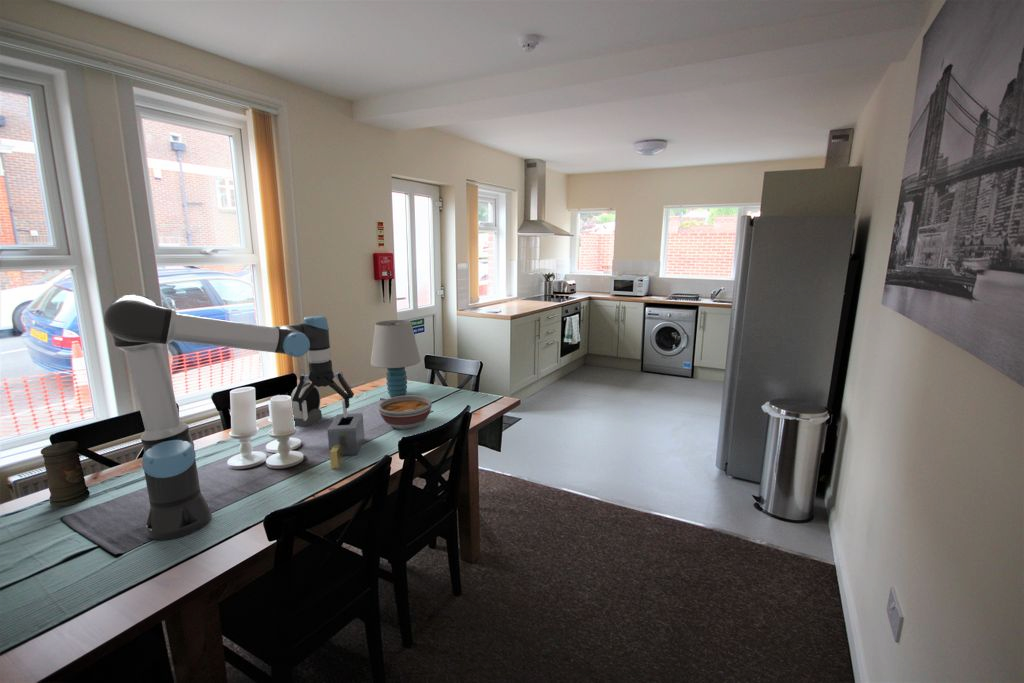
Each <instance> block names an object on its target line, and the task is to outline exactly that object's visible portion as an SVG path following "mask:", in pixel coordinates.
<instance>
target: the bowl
mask: <svg viewBox="0 0 1024 683" xmlns="http://www.w3.org/2000/svg"><path fill="white" fill-rule="evenodd" d="M432 405H433V404H432V400H431V399H430V398H428V397H426V396H422V395H413V394H412V395H411V394H410V395H408V394H406V395H405V396H398V397H393V398H392V397H390V398H386V399H385V400H382V401H381V402H380V403H379V404H378V411H379V414H380V416H381V418H382V419H383V421H384V422H385V423H386V424H387V425H388V426H390V427H392V428H394V429H397V430H408V429H413V428H416V427H419V426H420V425H421V424H423V423H425V421H426V420H427V418H429V416H430V413H431V410H432Z"/></svg>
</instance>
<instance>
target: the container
mask: <svg viewBox="0 0 1024 683" xmlns="http://www.w3.org/2000/svg"><path fill="white" fill-rule="evenodd" d="M78 451H79V443H78V442H77V441H75V440H74V441H73V440H71V441H70V440H69V441H61V442H57V443H53V444H50V445H47V446H45V447H42V448H41V450H40V454H41V455H42V458H43V460H44V463H43V464H44V467H45V473H46V477H47V481H48V491H49V493H50V496H49V498H48V499H49V500H50V501H49V504H50V506H51V507H53V508H59V507H60V508H61V507H66V506H70V505H75V504H77V503H79V502H82V501H83V500H85V499H87V498H88V497H89V496H90V494H91V492H90V491H89V487H88V486H87V485H86V478H85V477H84V472H83V468H82V463H81V458H80V454H79V452H78Z"/></svg>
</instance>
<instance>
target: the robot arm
mask: <svg viewBox="0 0 1024 683" xmlns="http://www.w3.org/2000/svg"><path fill="white" fill-rule="evenodd" d="M103 317H104V318H103V320H104V326H105V327H106V329H107V331H108V332H109V333H110V334H111V335H112V338H113V339H112V340H113V342H114V346H115V348H116V349H119V350H121V351H122V352H124V357H125V359H126V363H127V367H128V370H129V375H130V379H131V382H132V386H133V389H134V392H135V397H136V400H137V403H138V408H139V411H140V415H141V418H142V423H143V426H144V431H143V433H142V434H141V435H140V441H141V444H142V448H143V452H144V453H143V455H142V463H141V467H142V470H143V472H144V477H145V482H146V484H145V485H146V488H147V494H148V500H149V506H150V508H149V510H148V511H149V512H148V515H147V516H148V517H147V521H146V524H145V531H146V536H147V537H148V538H149V539H151V540H154V541H166V540H173V539H178V538H181V537H184V536H187V535H190V534H192V533H194V532H197V531H198V530H200V529H202V528H203V527H204V526H206V525H207V524H208V523H209V522H210V521H211V519H212V515H213V514H212V510H211V507H210V505H209V503H208V502H207V500H206V499H205V497H204V495H203V494H202V491H201V485H200V480H199V473H198V467H197V459H196V458H197V457H196V455H197V454H196V450H195V443H194V440H193V439H192V436H191V432H190V428H189V425H188V423H186V422H183V421H181V417H180V412H179V409H178V406H177V402H176V397H175V393H174V390H173V385H172V381H171V377H170V374H169V373H170V372H169V368H168V365H167V362H166V357H165V353H164V349H163V345H168V344H170V343H172V342H179V343H185V344H196V345H203V346H204V345H205V346H212V347H213V346H214V347H221V348H230V349H231V348H232V349H242V350H249V351H259V352H266V353H276V354H282V355H287V356H290V357H294V358H300V357H303V356H304V355H306V354H307V360H308V364H307V365H308V371H309V374H305V373H302V374H301V375H300V376H299V383H298V385H297V386H298V388H297V390H296V392H295V395H294V397H293V399H292V400H293V401H294V402H295V401H296V402H298V403H299V410H300V411H303V420H304V421H306V420H307V418H308V414H307V405H306V401H303V400H304V399H305V397H306V396H307V395H308V393H309V392H310V391H311V390H312V388H313V387H314V386H316V387H317V388H320V387H327V386H329V388H332V389H333V391H335V392H336V393H337V394H338V395H339V396H340V397H341V398H342V400H341V402H342V411H343V413H342V414H344V418H346V417H347V414H348V409H349V407H350V399H352V398H353V397H354V395H355V393H354V392H353V390H352V389H351V387H350V386H349V384H348V383H347V381H346V380H345V377H344V375H343V372H342V371H339V372H337V373H334V371H333V363H332V360H331V359H332V352H331V345H330V344H331V343H330V342H331V341H330V332H329V330H330V328H329V323H328V319H327V317H326V316H323V315H311V316H305V317H304V318H303V322H302V323H298V324H297V323H296V324H288V325H287V324H286V325H285V324H284V325H275V326H263V325H258V324H250V323H244V322H243V323H242V322H238V321H237V322H236V321H230V320H223V319H217V318H211V317H210V318H209V317H205V316H204V317H202V316H195V315H191V314H183V313H178V312H177V311H176V310H175V309H173V308H167V307H162V306H159V304H157V302H156V301H154V300H153V299H152V298H150V297H148V296H146V295H141V294H127V295H126V294H125V295H122V296H119V297H117V298H115V299H114V300H113V301H111V303H110V305H109V306H108V307H107V309H106V311H105V313H104V316H103ZM334 378H335V379H336V380H338V383H340V385H341V386H342V388H343V389H342V388H341V387H340V386H339V384H338V383H337V382H335V380H334ZM308 380H309V381H310V384H311V385H310V386H309V387H308V389H307V390H306V391H305V393H304V394H303V395H302V396H301V398H299V395H300V392H301V390H302V388H303V385H304V383H305V382H306V381H308Z"/></svg>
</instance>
